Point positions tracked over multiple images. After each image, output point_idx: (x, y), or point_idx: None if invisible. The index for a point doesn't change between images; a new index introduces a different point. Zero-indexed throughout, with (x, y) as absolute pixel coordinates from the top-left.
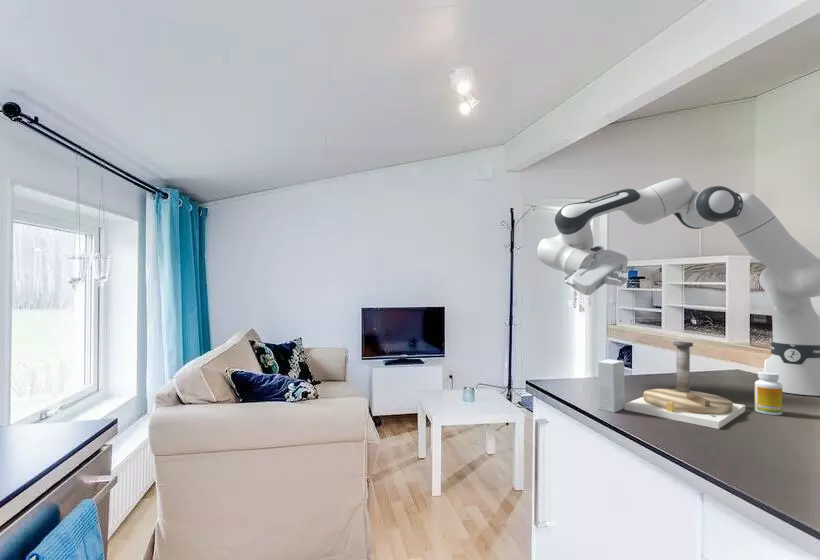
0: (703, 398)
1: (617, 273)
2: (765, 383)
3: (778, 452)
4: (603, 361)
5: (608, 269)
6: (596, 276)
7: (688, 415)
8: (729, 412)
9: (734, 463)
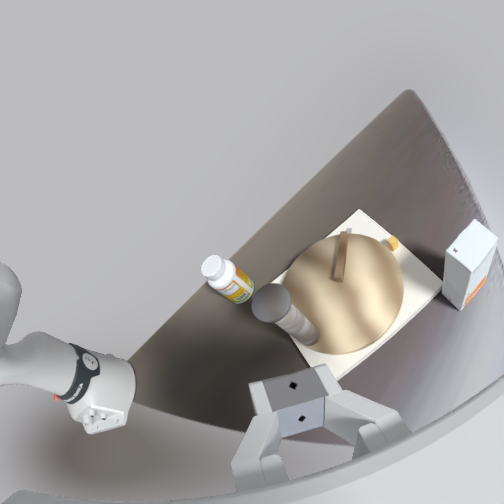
0: (340, 243)
1: (263, 450)
2: (229, 263)
3: (351, 162)
4: (488, 238)
5: (324, 496)
6: (497, 422)
7: (379, 230)
8: None
9: (404, 136)
